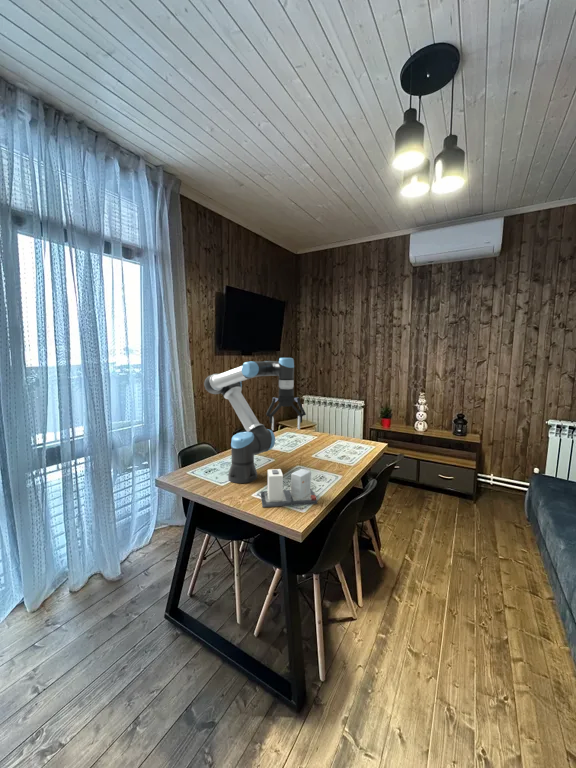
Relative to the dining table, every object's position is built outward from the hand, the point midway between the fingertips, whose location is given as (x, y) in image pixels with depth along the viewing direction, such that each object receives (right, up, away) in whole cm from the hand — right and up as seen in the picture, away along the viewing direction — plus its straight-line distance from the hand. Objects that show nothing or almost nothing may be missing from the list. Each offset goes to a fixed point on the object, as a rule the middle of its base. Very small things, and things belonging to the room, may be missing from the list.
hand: (285, 429), depth 158 cm
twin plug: (-5, -27, -20) cm, 34 cm away
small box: (+7, -27, -18) cm, 34 cm away
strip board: (+1, -29, -19) cm, 35 cm away
